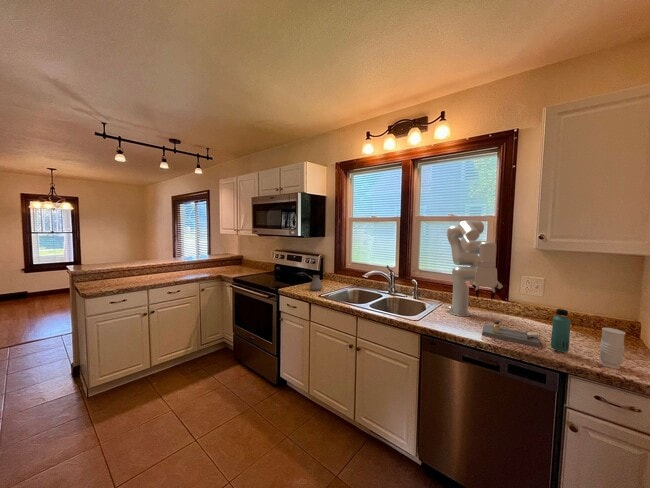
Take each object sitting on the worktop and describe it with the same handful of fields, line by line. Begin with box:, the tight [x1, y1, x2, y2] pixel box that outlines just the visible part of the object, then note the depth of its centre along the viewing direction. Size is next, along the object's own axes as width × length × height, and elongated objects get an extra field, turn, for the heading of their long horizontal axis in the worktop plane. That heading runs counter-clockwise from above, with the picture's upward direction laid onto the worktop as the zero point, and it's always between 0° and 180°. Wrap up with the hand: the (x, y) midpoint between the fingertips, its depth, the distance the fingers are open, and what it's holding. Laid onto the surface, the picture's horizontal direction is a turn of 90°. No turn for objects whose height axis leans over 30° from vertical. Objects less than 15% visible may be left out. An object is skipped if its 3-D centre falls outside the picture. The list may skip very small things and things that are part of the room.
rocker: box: [527, 331, 539, 338], centre depth 134 cm, size 4×4×1 cm
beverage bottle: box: [550, 308, 572, 353], centre depth 123 cm, size 6×7×20 cm
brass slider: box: [492, 323, 500, 333], centre depth 140 cm, size 3×3×4 cm
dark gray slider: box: [493, 319, 500, 326], centre depth 146 cm, size 3×3×4 cm
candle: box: [598, 327, 627, 370], centre depth 111 cm, size 7×7×15 cm
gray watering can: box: [300, 271, 323, 292], centre depth 235 cm, size 21×12×15 cm, turn 62°
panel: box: [481, 324, 541, 348], centre depth 139 cm, size 24×13×3 cm, turn 56°
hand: (484, 297), depth 142 cm, fingers open, 5 cm apart
